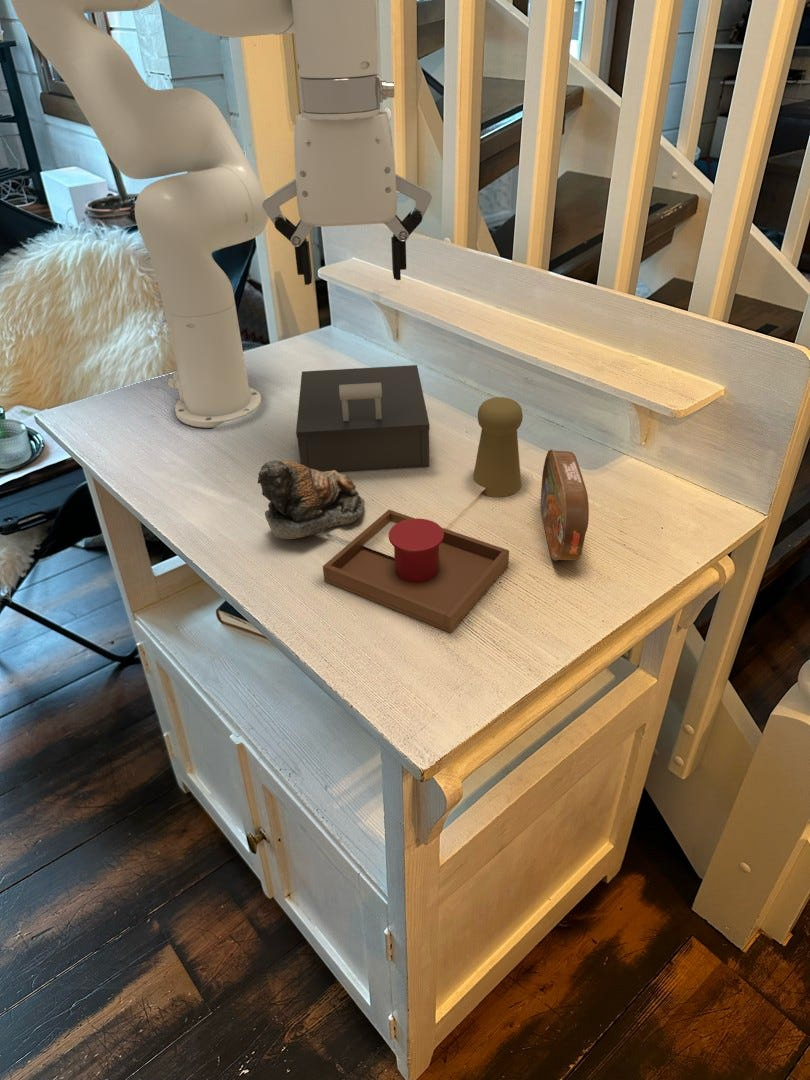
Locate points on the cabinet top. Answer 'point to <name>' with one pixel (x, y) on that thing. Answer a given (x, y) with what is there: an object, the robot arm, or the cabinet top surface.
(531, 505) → the cabinet top surface
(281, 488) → the bison figurine
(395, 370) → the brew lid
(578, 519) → the tin
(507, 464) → the olive pawn piece
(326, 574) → the tray
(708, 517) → the cabinet top surface
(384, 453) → the pod bay
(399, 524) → the coffee pod
